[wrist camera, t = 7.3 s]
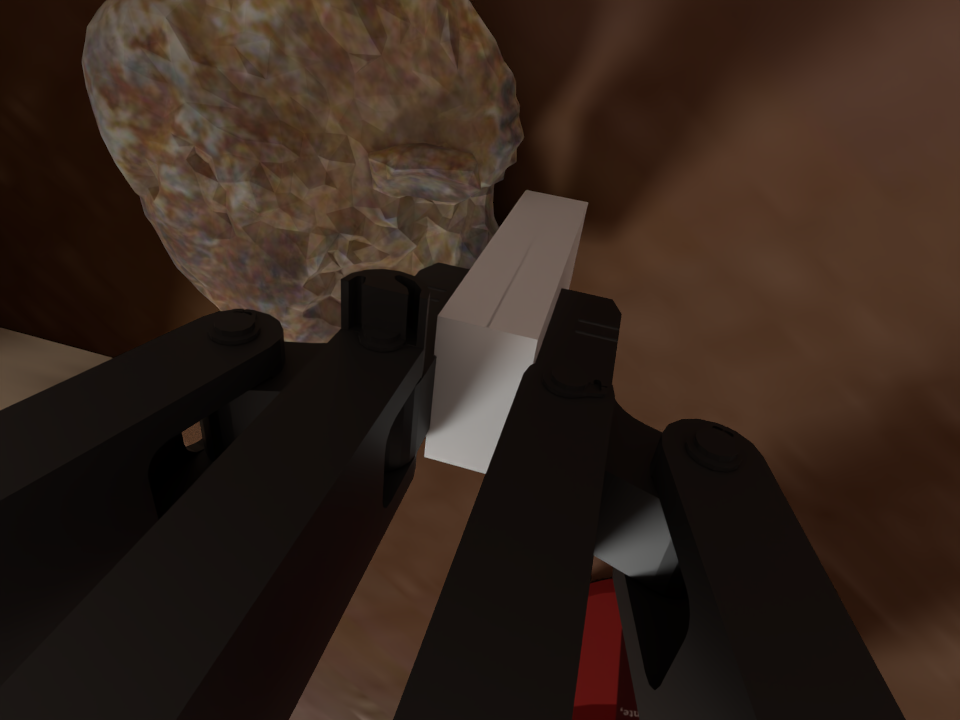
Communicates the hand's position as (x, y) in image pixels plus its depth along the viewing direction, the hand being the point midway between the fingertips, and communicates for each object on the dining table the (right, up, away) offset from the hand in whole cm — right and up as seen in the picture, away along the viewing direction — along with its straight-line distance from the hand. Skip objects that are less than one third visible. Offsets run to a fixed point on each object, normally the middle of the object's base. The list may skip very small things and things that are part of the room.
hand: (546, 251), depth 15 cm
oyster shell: (-4, +2, +2) cm, 5 cm away
